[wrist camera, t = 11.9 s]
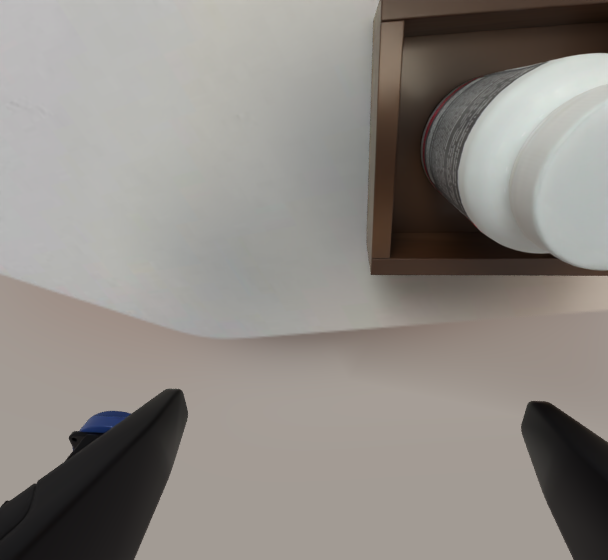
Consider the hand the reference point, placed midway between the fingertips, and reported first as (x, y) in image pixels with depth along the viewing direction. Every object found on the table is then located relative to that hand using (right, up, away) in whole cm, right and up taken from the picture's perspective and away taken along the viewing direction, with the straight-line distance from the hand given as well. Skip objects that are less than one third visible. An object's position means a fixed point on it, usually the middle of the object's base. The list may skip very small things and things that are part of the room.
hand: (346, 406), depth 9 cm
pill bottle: (+7, +10, +7) cm, 14 cm away
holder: (+7, +10, +7) cm, 14 cm away
